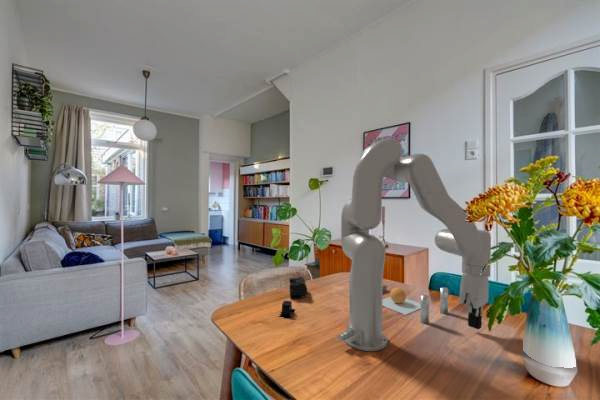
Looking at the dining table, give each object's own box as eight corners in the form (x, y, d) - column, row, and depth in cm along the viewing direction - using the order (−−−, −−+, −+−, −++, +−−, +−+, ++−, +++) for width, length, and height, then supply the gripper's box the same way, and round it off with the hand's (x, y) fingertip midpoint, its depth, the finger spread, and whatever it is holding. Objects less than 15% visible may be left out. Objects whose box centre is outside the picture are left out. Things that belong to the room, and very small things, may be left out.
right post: (445, 314, 99) (446, 290, 98) (438, 312, 101) (438, 288, 101) (449, 312, 100) (449, 288, 100) (442, 310, 102) (442, 286, 102)
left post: (426, 324, 91) (426, 297, 91) (419, 321, 93) (419, 295, 93) (430, 322, 93) (430, 296, 92) (423, 319, 95) (423, 294, 94)
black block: (293, 323, 93) (293, 310, 93) (272, 322, 94) (272, 309, 94) (298, 308, 105) (299, 297, 105) (280, 307, 106) (280, 296, 106)
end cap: (307, 299, 114) (307, 283, 113) (290, 299, 113) (290, 283, 113) (305, 290, 123) (305, 276, 123) (289, 291, 123) (289, 276, 123)
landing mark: (405, 315, 98) (405, 314, 98) (374, 302, 110) (374, 302, 110) (426, 306, 106) (426, 305, 106) (395, 295, 118) (395, 294, 118)
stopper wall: (359, 299, 113) (359, 293, 113) (356, 297, 115) (356, 291, 115) (386, 290, 124) (386, 285, 124) (383, 289, 125) (383, 283, 125)
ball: (384, 292, 111) (392, 307, 109) (394, 288, 107) (402, 303, 104) (393, 288, 114) (401, 302, 112) (403, 284, 110) (411, 298, 108)
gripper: (473, 263, 93) (472, 316, 93) (451, 270, 84) (450, 328, 85) (498, 268, 87) (497, 325, 87) (478, 276, 78) (477, 339, 79)
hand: (474, 326), depth 86 cm, fingers closed
